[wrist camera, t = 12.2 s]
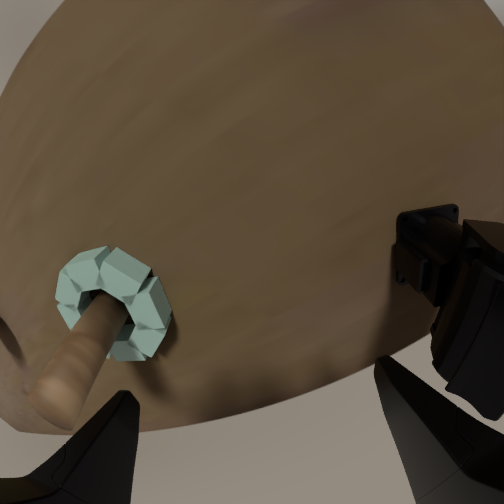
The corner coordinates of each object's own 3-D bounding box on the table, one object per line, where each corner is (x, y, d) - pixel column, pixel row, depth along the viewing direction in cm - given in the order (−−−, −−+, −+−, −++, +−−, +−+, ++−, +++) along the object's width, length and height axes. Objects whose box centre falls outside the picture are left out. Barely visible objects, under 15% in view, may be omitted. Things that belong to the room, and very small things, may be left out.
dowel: (130, 288, 22) (61, 408, 10) (134, 318, 23) (79, 436, 12) (97, 281, 22) (19, 388, 10) (102, 312, 23) (40, 418, 11)
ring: (143, 236, 20) (131, 249, 18) (185, 339, 24) (180, 358, 22) (54, 260, 21) (40, 272, 19) (99, 345, 25) (90, 361, 23)
